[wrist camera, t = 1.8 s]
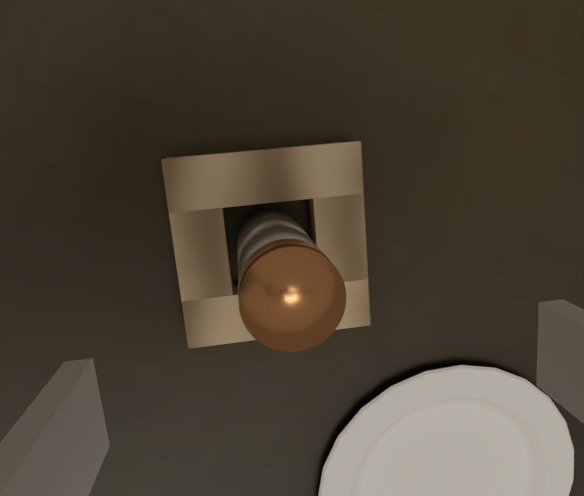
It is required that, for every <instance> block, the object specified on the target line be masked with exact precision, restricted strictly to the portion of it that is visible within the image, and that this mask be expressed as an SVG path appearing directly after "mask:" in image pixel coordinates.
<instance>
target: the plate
mask: <svg viewBox="0 0 584 496" xmlns="http://www.w3.org/2000/svg"><path fill="white" fill-rule="evenodd" d="M573 479H574V448H573V444H572V441H571V437H570V434H569V431H568V427H567V424H566V421H565V420H564V418H563V417H562V415H561V414H560V412H559V411H558V409H557V408H556V406H555V405H554V403H553V402H552V400H551V399H550V398H549V397H548V396H547V395H546V394H544V393H543V392H542V391H540V390H539V389H538V388H537V387H535V386H534V385H533V384H531V383H530V382H529V381H528V380H526V379H525V378H523V377H520V376H517V375H515V374H512V373H509V372H506V371H504V370H501V369H498V368H496V367H489V366H477V365H465V364H458V365H452V366H446V367H441V368H435V369H429V370H424V371H422V372H419V373H417V374H415V375H413V376H410V377H408V378H406V379H403V380H401V381H399V382H396V383H394V384H392V385H390V386H389V387H387V388H386V389H385V390H383V391H382V392H381V393H379V394H378V395H376V396H375V397H374V398H372V399H371V400H370V401H368V402H367V403H366V404H364V405H363V406H362V407H360V409H359V410H358V411H357V412H356V414H355V415H354V416H353V417H352V418H351V420H350V421H349V422H348V423H347V424H346V426H345V427H344V428H343V429H342V430H341V432H340V433H339V434H338V435H337V437H336V439H335V441H334V444H333V446H332V448H331V450H330V452H329V454H328V456H327V458H326V460H325V462H324V465H323V468H322V473H321V479H320V485H319V491H318V496H569V493H570V489H571V486H572V483H573Z"/></svg>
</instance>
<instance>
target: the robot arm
mask: <svg viewBox="0 0 584 496" xmlns="http://www.w3.org/2000/svg"><path fill="white" fill-rule="evenodd" d="M536 385H537V386H538V387H539V388H540V389H542V390H543V391H544V392H545V393H546V394H548V395H549V396H550V397H551V398H553V399H554V400H555V401H556V402H558V403H559V404H560V405H561V406H563V407H564V408H565V409H566V410H568V411H569V412H570V413H571V414H572V415H574V416H575V417H576V418H577V419H579V420H580V421H581V422H582V423H584V310H583V309H581V308H579V307H577V306H575V305H573V304H571V303H569V302H567V301H565V300H555V301H547V302H539V314H538V349H537V384H536ZM109 446H110V445H109V440H108V435H107V429H106V424H105V419H104V414H103V409H102V403H101V398H100V393H99V388H98V383H97V377H96V372H95V367H94V362H93V358H91V359H83V360H75V361H67V362H64V363H63V364H62V365H61V367H60V368H59V369H58V370H57V372H56V373H55V374H54V375H53V377H52V378H51V379H50V381H49V382H48V383H47V384H46V386H45V387H44V388H43V389H42V391H41V392H40V393H39V394H38V396H37V397H36V398H35V399H34V401H33V402H32V403H31V405H30V406H29V407H28V408H27V410H26V411H25V412H24V413H23V415H22V416H21V417H20V418H19V420H18V421H17V422H16V423H15V425H14V426H13V427H12V428H11V430H10V431H9V432H8V434H7V435H6V436H5V437H4V439H3V440H2V441H1V442H0V496H89V493H90V491H91V489H92V486H93V484H94V481H95V479H96V477H97V474H98V472H99V470H100V467H101V465H102V463H103V460H104V458H105V455H106V453H107V451H108V448H109Z"/></svg>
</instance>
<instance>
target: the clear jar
mask: <svg viewBox="0 0 584 496" xmlns="http://www.w3.org/2000/svg"><path fill="white" fill-rule="evenodd" d="M237 256H238V276H239V281H238V299H239V311H240V316H241V319H242V321H243V323H244V325H245V327H246V329H247V330H248V332H249V333H250V334H251V335H252V336H253V337H254V338H255V339H256V340H257V341H258V342H260V343H262V344H263V345H265V346H267V347H269V348H272V349H275V350H278V351H284V352H296V351H302V350H306V349H309V348H312V347H314V346H316V345H318V344H320V343H321V342H323V341H324V340H326V339H327V338H328V337H329V336H330V335H331V334H332V333H333V332H334V331H335V329H336V328H337V327H338V325H339V323H340V322H341V320H342V317H343V315H344V311H345V308H346V288H345V284H344V281H343V279H342V276H341V274H340V273H339V271H338V270H337V268H336V267H335V266H334V265H333V263H332V262H331V261H330V260H329V259H328V257H327V256H326V255H325V254H324V253H323V252H322V251H321V250H320V249H319V248H318V247H317V246H316V245H315V243H314V242H313V241H312V240H311V238H310V237H309V236H308V235H307V234H306V232H305V231H304V230H303V229H302V227H301V226H300V225H299V224H298V223H297V221H296V220H295V219H294V218H293V217H292V216H291V215H290V214H289V213H287V212H286V211H284V210H282V209H279V208H274V207H265V208H261V209H257V210H255V211H253V212H252V213H250V214H249V215H248V216H247V217H246V218H245V219H244V220H243V221H242V223H241V225H240V226H239V229H238V233H237Z"/></svg>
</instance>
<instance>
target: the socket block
mask: <svg viewBox="0 0 584 496" xmlns="http://www.w3.org/2000/svg"><path fill="white" fill-rule="evenodd" d="M161 163H162V170H163V177H164V184H165V191H166V198H167V205H168V212H169V219H170V226H171V233H172V239H173V246H174V253H175V260H176V267H177V274H178V281H179V288H180V295H181V302H182V309H183V315H184V322H185V329H186V336H187V343H188V349H190V348H197V347H205V346H213V345H221V344H228V343H236V342H244V341H252V340H256V339H255V338H254V337H253V336H252V335H251V334H250V333H249V332H248V330H247V329H246V327H245V325H244V323H243V321H242V319H241V316H240V311H239V299H238V283H237V284H233V283H232V275H231V266H230V258H229V249H228V241H227V232H226V224H225V216H224V207H234V206H244V205H254V204H264V203H274V202H284V201H294V200H303V199H307V200H308V213H309V226H310V238H311V240H312V241H313V242H314V243H315V245H316V246H317V247H318V248H319V249H320V250H321V251H322V252H323V253H324V254H325V255H326V256H327V257H328V259H329V260H330V261H331V262H332V263H333V265H334V266H335V267H336V268H337V270H338V271H339V273H340V274H341V276H342V279H343V281H344V284H345V288H346V308H345V311H344V315H343V317H342V320H341V322H340V323H339V325H338V327H337V328H336V329H335V330H337V329H344V328H352V327H360V326H367V325H370V306H369V287H368V268H367V249H366V229H365V210H364V191H363V172H362V153H361V141H347V142H336V143H325V144H314V145H303V146H292V147H281V148H270V149H258V150H247V151H236V152H225V153H214V154H203V155H192V156H181V157H169V158H163V159H161Z"/></svg>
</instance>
